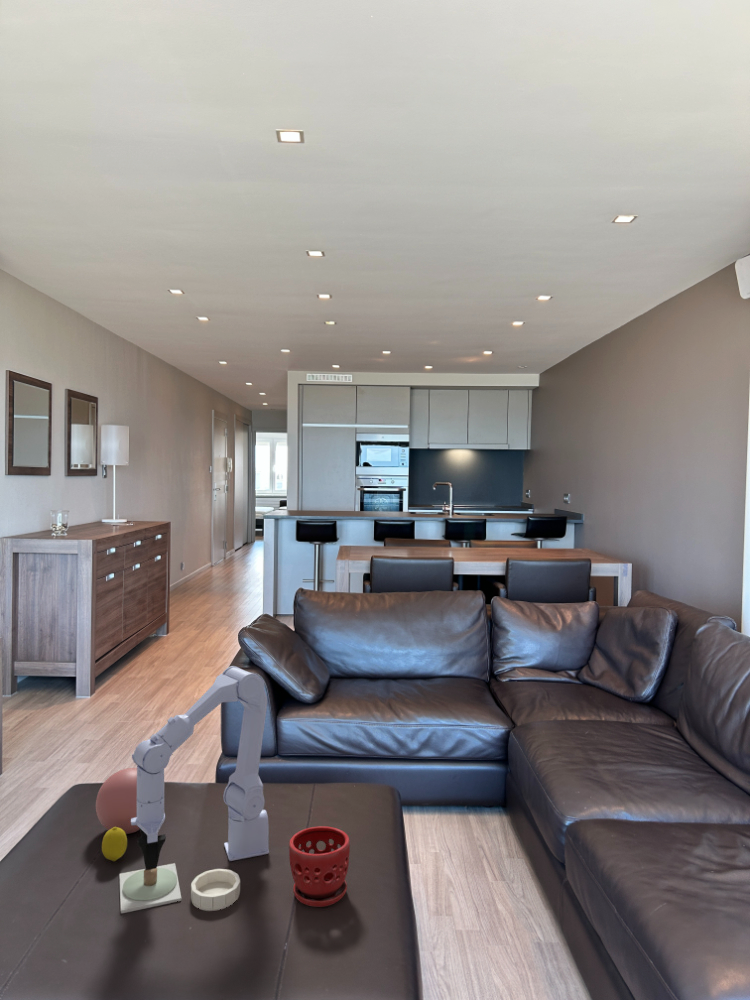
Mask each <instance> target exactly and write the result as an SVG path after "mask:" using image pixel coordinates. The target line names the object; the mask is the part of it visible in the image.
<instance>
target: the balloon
mask: <svg viewBox="0 0 750 1000" xmlns="http://www.w3.org/2000/svg"><path fill="white" fill-rule="evenodd" d="M95 811H96V812H95V813H96V816H97V819H98V821H99V822H100V824H101V825H102V826H103V828H105V829H106V830H107V831H108V830H110V829H112V828H113V827H118V828H121V829H122V830H124V832H125V834H126V835H129V834H133V833H136V832H138V831H140V829H139V827H138V826H137V825H131V819H132V818H136V817H137V767H129V768H128V767H127V768H123V769H120V770H117V771H115V772H114V773H113V774H111V775H110V776H108V778H107V779H106V780H105V781H104V782H103V783H102V785H101V786H100V788H99V790H98V791H97V796H96V800H95Z"/></svg>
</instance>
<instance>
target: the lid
mask: <svg viewBox="0 0 750 1000" xmlns="http://www.w3.org/2000/svg"><path fill="white" fill-rule="evenodd" d="M144 869H145V870H142V869H141V870H142V871H139V872H137V873H135V874H133V875H131V876H130V877H129V878H127V880H126V881H125V882H124V884H123V893H124V895H125V896H126V897H128V898H130V899H132V900H137V901H148V900H154V899H157V898H160V897H163V896H165V895H166V894H168V893H170V892H171V891H172V890H173V889H174V888H175V886H176V884H177V877H178V875H177V876H176V874H175V873H174V872H173V871H171V870H169V869H165V868H155V869H150V870H146V868H144Z"/></svg>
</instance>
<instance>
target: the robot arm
mask: <svg viewBox="0 0 750 1000" xmlns="http://www.w3.org/2000/svg"><path fill="white" fill-rule="evenodd" d="M238 701H239V702H240V704H241V705H242V706H243V712H242V713H243V714H242V721H241V728H240V736H239V743H238V749H237V750H238V751H237V756H236V757H237V759H236V765H235V771H234V772H232V773H231V775H229V777H228V783H227V784H226V787H225V788H224V790H223V802H224V803H225V805H227V811H228V814H227V815H228V817H227V818H228V821H227V822H228V823H227V824H228V828H227V829H228V833H227V836H228V837H227V842H224V843H223V845H224V848H225V852H226V855H227V859H228V860H229V862H232V861H238V860H242V859H243V860H244V859H248V858H252V857H253V858H254V857H257V856H263V855H267V854H269V853H270V851H269V834H270V833H269V830H270V829H269V828H270V827H269V826H270V825H269V817H268V813H267V810H266V809H264V807H265V803H266V802H265V797H264V784H263V782H262V780H261V778H260V776H259V770H260V769H259V768H260V762H261V754H262V745H263V738H264V732H265V730H264V729H265V725H266V724H265V722H266V716H267V709H268V708H267V707H268V697H267V694H266V691H265V680H263V679H262V678H261V677H260V676H259V675H258V674H256V673H252V672H250V671H247V670H246V669H245V670H244V669H242V668H240V667H239V666H235V665H231V666H228V667H227V668H225V669H224V670H223V672H222V673H220V674H218V675H217V676H216V678H215V680H214V682H213V684H212V685H211V686H210V687H209V688H208V690H206V692H205V693H203V695H202V696H200V697H199V699H198V700H196V702H195V703H194V704H193V705H192V706H191V707H190V708H189V709H188V710H187V711H186V712H185V713H184V714H175V716H170V717H169V718H168V719H167V722H166V723H165V725H164V726H163V727H161V728H160V729H159V730H158V731H157V732H156V733H153V734H152V735H151V736H150V737H149V738H150V739H146V740H143V741H141V742H140V743H138V744H137V746H136V747H135V749H134V752H133V754H131V759H132V762H133V763H134V764H135V765H136V768H137V817H136V818H132V819H131V825H137V826H138V827H139V829H140V830H139V832H140V835H141V836H139V837H138V836H137V845H138V847H139V849H141V853H142V856H143V861H144V867H145V869H146V870H150V869H155V868H157V867H158V864H159V860H160V859H159V858H160V854H161V850H162V847H164V846H163V845H164V844H165V842H166V838H167V836H166V834H159V835H158V833H159V831H160V829H161V828H162V826H163V824H164V822H165V820H166V813H165V769H166V768H167V766H168V765H169V763H170V759H171V757H172V756H173V754H174V753H175V752H176V750H177V749H179V748H180V747H181V746H182V745H183V744H184V743H185V742H186V741H187V740H188V739H189V738H191V736H193V734H194V729H195V725H197V724H198V723H200V722H201V721H202V720H203V719H204V718H205V717H207V716H208V715H209V714H210V713H211V712H212V711H214V710H215V709H216V708H217V707H218V706H219V705H221V704H223V703H230V702H231V703H234V702H238Z"/></svg>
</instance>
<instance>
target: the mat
mask: <svg viewBox="0 0 750 1000" xmlns="http://www.w3.org/2000/svg"><path fill="white" fill-rule="evenodd" d="M157 868H165V869H169V870H171V871H173V872H174V873H175V874H176V876H177V884H176V886H175V888H174V889H173V890H172V891H171V892H170V893H168V894H166V895H165V896H163V897H160V898H157V899H154V900H148V901H137V900H132V899H130V898H128V897H126V896H125V895H124V893H123V884H124V882H125V881H126V880H127V878H129V877H130V876H131V875H133V874H135V873H137V872H139V871H142V870H145V869H146V868H143V869H138V870H132V871H127V872H121V873H119V897H120V902H119V903H120V914H126V913H131V912H134V911H140V910H144V909H150V908H154V907H159V906H163V905H168V904H171V903H176V902H177V901H178V902H182V895H181V894H182V893H181V889H180V883H179V877H178V871H177V867H176V862H174V863H168V864H164V865H163V864H162V865H159V866H158V865H157Z"/></svg>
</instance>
